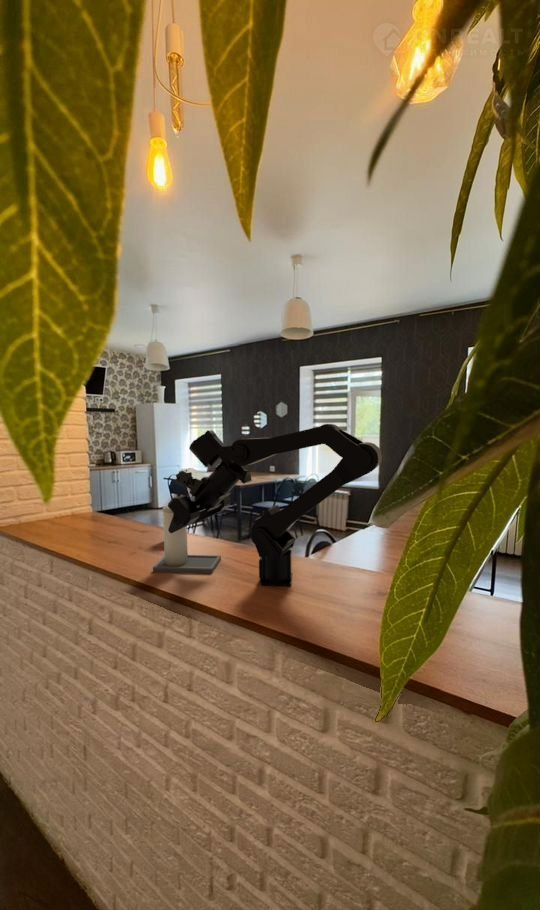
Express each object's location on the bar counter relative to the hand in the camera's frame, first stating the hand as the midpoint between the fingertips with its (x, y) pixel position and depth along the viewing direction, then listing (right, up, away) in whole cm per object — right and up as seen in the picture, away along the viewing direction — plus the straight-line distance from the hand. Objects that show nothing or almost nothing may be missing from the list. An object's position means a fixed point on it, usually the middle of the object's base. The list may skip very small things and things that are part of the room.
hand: (181, 526), depth 95 cm
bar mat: (+1, -9, +1) cm, 10 cm away
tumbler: (-2, -9, +1) cm, 9 cm away
